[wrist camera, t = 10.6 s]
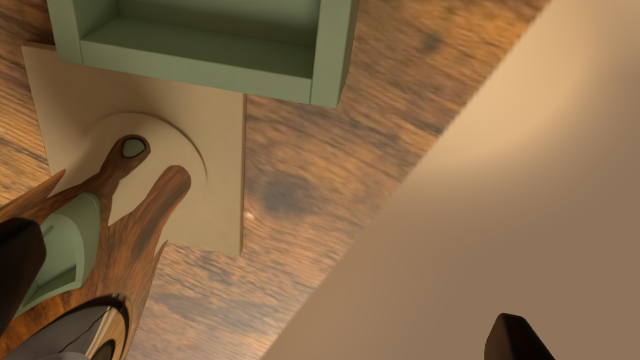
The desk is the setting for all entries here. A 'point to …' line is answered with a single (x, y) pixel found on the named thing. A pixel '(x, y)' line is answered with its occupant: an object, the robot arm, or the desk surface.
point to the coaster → (158, 101)
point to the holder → (216, 43)
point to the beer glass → (103, 238)
